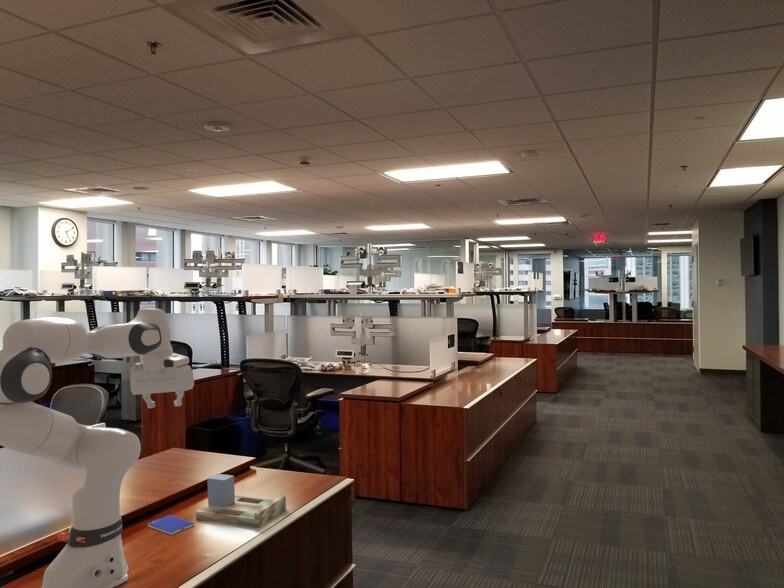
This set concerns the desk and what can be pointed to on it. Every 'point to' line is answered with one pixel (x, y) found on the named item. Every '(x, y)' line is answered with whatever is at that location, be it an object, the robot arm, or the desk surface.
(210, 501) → the slate block
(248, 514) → the box
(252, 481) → the desk surface
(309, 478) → the desk surface
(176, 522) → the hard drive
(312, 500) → the desk surface
